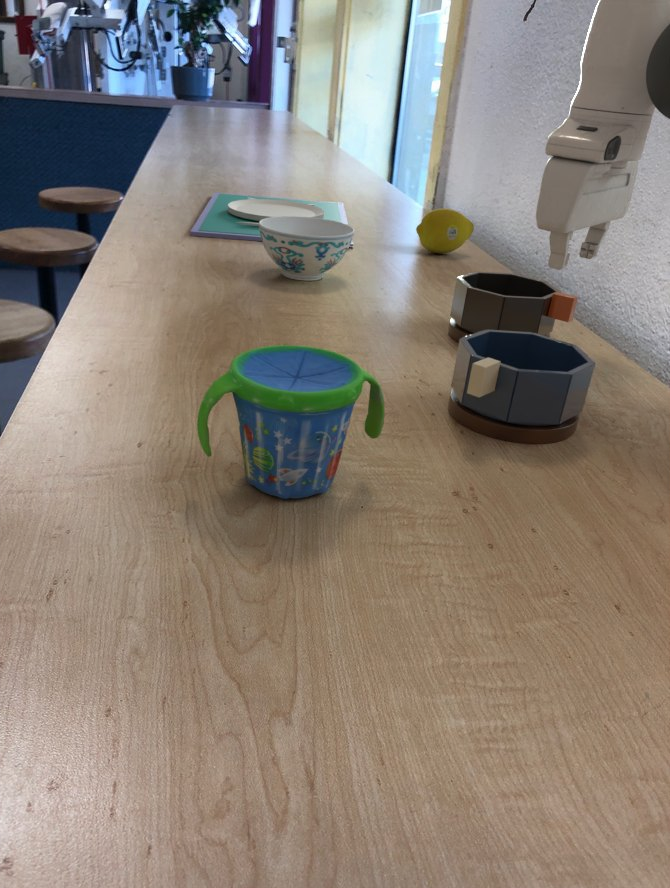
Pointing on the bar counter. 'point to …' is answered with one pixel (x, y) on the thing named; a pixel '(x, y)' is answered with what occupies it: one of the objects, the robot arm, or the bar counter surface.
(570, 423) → the disc
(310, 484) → the snack cup
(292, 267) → the chinaware
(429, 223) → the lemon
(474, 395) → the slate bowl
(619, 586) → the bar counter surface
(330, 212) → the place mat
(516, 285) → the dark grey octagonal pot
